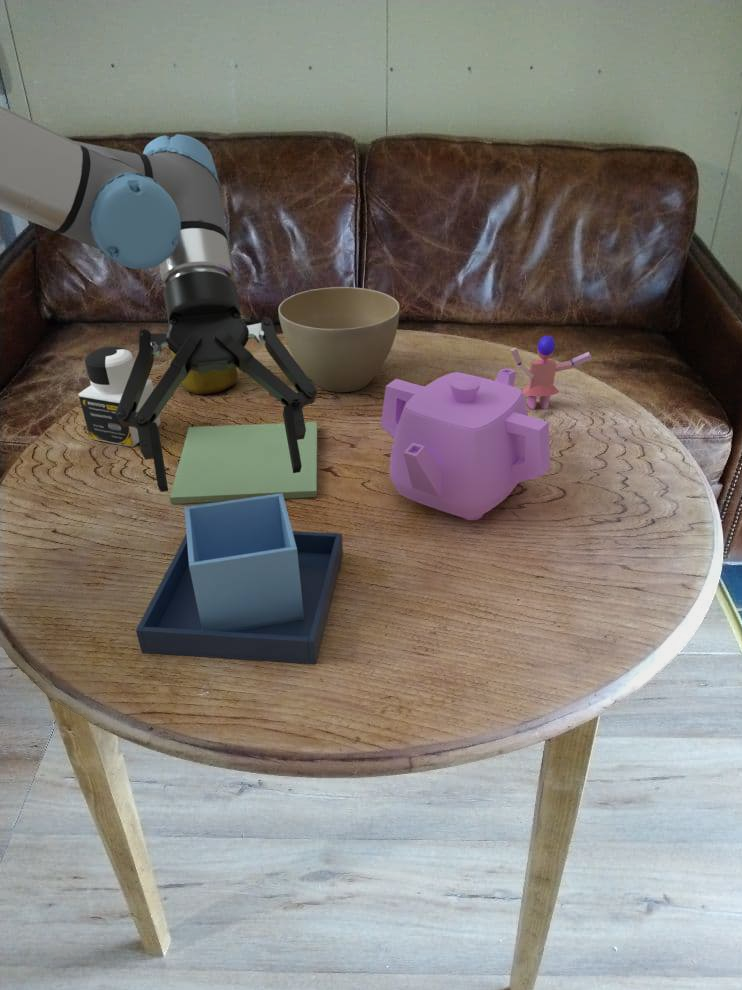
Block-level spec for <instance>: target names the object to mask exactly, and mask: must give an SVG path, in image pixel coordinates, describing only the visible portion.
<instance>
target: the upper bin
mask: <svg viewBox="0 0 742 990" xmlns="http://www.w3.org/2000/svg"><path fill="white" fill-rule="evenodd" d="M184 518H185V531H186V532H185V533H186V534H187V546H188V559H189V568H190V573H191V578H192V583H193V587H194V592H195V597H196V602H197V607H198V612H199V616H200V621H201V626H202V630H204V631H220V632H235V631H241V630H247V629H252V628H258V627H264V626H269V625H275V624H281V623H286V622H292V621H298V620H304V612H303V602H302V593H301V583H300V573H299V563H298V553H297V547H296V543H295V539H294V535H293V531H294V530H293V528H292V524H291V520H290V517H289V513H288V508H287V505H286V500H285V499H284V497H283V493H279V494H272V495H265V496H258V497H251V498H244V499H237V500H230V501H222V502H207V503H200V504H195V505H194V504H193V505H188V506H184Z"/></svg>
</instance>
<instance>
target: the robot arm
mask: <svg viewBox="0 0 742 990" xmlns="http://www.w3.org/2000/svg"><path fill="white" fill-rule="evenodd" d="M221 188H222V187H221V184H220V181H219V178H218V173H217V169H216V165H215V163H214V159H213V156H212V153H211V151H210V149H208V147H207V146H206V145H205V144H204V143H203V142H201V140H199V139H197V138H194V137H193V136H190V135H185V134H179V133H177V134H175V135H174V136H168V135H161V136H158V137H156V138H154V139H152V140H151V141H150V142H148V144H146V146H145V147H144V150H143V152H142V153H136V152H131V151H130V152H129V151H126V150H121V149H116V148H112V147H111V148H110V147H105V146H101V145H97V144H96V145H95V144H91V143H87V142H81V141H76V140H73V139H71V138H68V137H66V136H64V135H62V134H60V133H58V132H56V131H53V130H51V129H50V128H48V127H45V126H43V125H42V124H39V123H37V122H36V121H33V120H31V119H29V118H27V117H25V116H23V115H20V114H19V113H17V112H14V111H12V110H10V109H8V108H6V107H4V106H2V105H0V210H1V211H3V212H5V213H7V214H8V213H9V214H11V215H13V216H16V217H18V218H21V219H24V220H25V221H28V222H30V223H33V224H36V225H37V226H38V225H39V226H41V227H44V228H46V229H49V230H52V232H55V233H58V234H60V235H62V236H64V237H66V238H69V239H71V240H74V241H76V242H79V243H82V244H84V245H87V246H88V247H92V248H94V249H96V250H98V251H100V252H101V254H102V255H104V256H105V257H106V258H107V259H108V260H110V261H112V262H114V263H117V264H119V265H121V266H123V267H126V268H129V269H132V270H133V269H134V270H146V269H152V268H155V267H158V266H159V272H160V279H161V283H162V286H163V287H164V288H163V298H164V303H165V304H164V305H165V309H166V317H167V322H168V328H167V332H166V333H151V332H150V330H148V329H145V328H143V329H141V330H139V332H138V351H137V354H136V357H135V359H134V361H133V362H134V365H133V368H132V370H131V373H130V376H129V378H128V381H127V384H126V387H125V389H124V392H123V395H122V397H121V400H120V403H119V405H118V408H117V411H116V417H117V418H118V420H119V422H120V424H121V425H122V426H124V427H127V426H130V427H134V428H136V429H137V430H138V436H139V443H138V444H139V449H140V453H141V456H143V458H144V460H146V461H147V460H153V465H154V470H155V477H156V483H157V487H158V489H159V491H160V493H164V492H169V486H168V480H167V473H166V467H165V460H164V452H163V448H162V447H163V446H162V440H161V434H160V429H159V426H157V424H156V422H154V421H155V420H156V418H157V417H158V415H159V416H160V414H161V413H162V411H163V410H164V409H165V407H166V406H167V404H168V402H169V401H170V400H171V398H172V397H173V395H174V394H175V392H176V391H177V389H178V388H179V387H180V385H181V384H182V381H183V380H184V379H185V378H186V377H187V375H188V374H189V372H190V371H191V369H192V370H194V371H197V372H199V373H207V372H209V371H212V370H217V371H226V370H228V368H230V367H232V366H233V365H235V366H236V368H237V370H240V371H241V372H242V373H244V374H246V375H247V376H249V378H251V379H252V380H253V381H254V382H256V383H257V384H258V385H259V386H260V387H261V388H263V389H264V390H265V391H266V392H267V393H269V394H270V395H271V396H272V397H273V398H275V399H276V400H277V401H278V402H279V403H281V404H282V405H283V410H282V417H283V423H284V424H285V429H286V435H287V441H288V447H289V452H290V458H291V464H292V469H293V473H299V472H300V471H301V467H302V465H301V459H300V453H299V448H298V442H297V440H299V439H304V437H305V433H306V427H305V417H304V411H303V408H304V407H306V406H309V405H312V404H314V403H315V402H316V398H317V393H318V390H317V388H316V387H315V385H314V384H313V382H312V380H311V379H310V378H309V377H308V376H307V374H306V373H305V372H304V371H303V370H302V369H301V367H300V366H299V365H298V363H297V362H296V360H295V358H294V357H293V355H292V353H291V352H290V351H289V350H288V349H287V348H286V345H284V344H283V342H282V341H281V340H280V338H279V337H278V334H277V332H276V328H275V325H274V321H273V320H272V319H271V318H270V317H268V316H267V317H263V318H262V319H261V321H260V322H258V323H253V324H249V325H247V324H246V323H245V322H244V319H243V318H242V314H241V313H242V311H241V307H240V301H239V295H238V290H237V285H236V283H235V281H234V280H235V273H234V266H233V260H232V253H231V249H230V244H229V240H228V239H229V238H228V236H227V228H226V223H225V222H226V221H225V216H224V208H223V203H222V195H221V194H222V191H221ZM251 338H252V339H254V340H255V341H256V343H257V344H259V345H261V346H264V347H265V349H266V351H267V353H268V354H269V355H270V357H271V358H272V360H273V361H274V362H275V364H276V366H277V367H278V368H279V369H280V370H281V372H282V373H283V375H284V376H285V377H286V378H287V380H288V381H289V382H290V384H291V386H292V387H293V388H294V389H295V390H293V389H292V387H290V386H289V385H288V384H287V383H285V381H283V380H281V379H280V378H279V377H278V376H277V375H276V374H275V373H273V372H272V371H271V370H270V369H269V368H268V367H266V366H265V365H264V364H263V363H261V361H259V360H258V359H256V358H255V356H254V355H253V354H252V353H251V352H250V351H249V349H247V348H246V345H247V343H248V341H249V339H251ZM165 347H167V348H168V349H169V351H170V350H171V351H172V352H174V353H175V354H176V355H175V357H174V358H172V360H171V362H170V365H169V367H168V368H167V370H166V371H165V372H164V374H163V375H162V376H161V378H160V380H159V381H158V382H157V384H156V385H155V387H153V389H154V390H153V391H152V393H151V394H150V396H149V397H148V398H147V400H146V401H145V403H144V404H143V406H142V407H141V409H140V410H139V412H138V413H137V412H136V410H137V407H138V404H139V401H140V399H141V396H142V393H143V391H144V388H145V385H146V382H147V380H148V379H149V377H150V374H151V371H152V369H153V365H154V361H155V357H158V356H160V354H161V352H162V350H163V349H164V348H165ZM171 351H170V352H171Z"/></svg>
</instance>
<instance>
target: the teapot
mask: <svg viewBox="0 0 742 990" xmlns="http://www.w3.org/2000/svg"><path fill="white" fill-rule="evenodd" d="M516 374H517V370H514V369H510V368H506V367H505V368H503V369H501V370H499V371H498V374H497V376H496V377H495V379H494V380H492V379H490V378H489V379H488V378H485V377H481V376H478V375H473V374H469V373H464V372H459V371H455V372H450V373H447V374H444V375H442V376H440V377H438V378H436V379H434V380H433V381H431V382H429V383H428V384H426V385H425V386H424V385H421V384H417V383H414V382H409V381H405V380H403V379H398V378H395V379H393V380H392V381H391V382H390V383H388V384H387V385H385V389H384V390H385V391H384V397H383V403H382V411H381V412H382V413H381V418H380V419H381V420H380V421H381V422H380V427H381V428H382V429H383V430H384V431H386V433H388V434H389V435H390V437H392V438H393V441H392V446H391V452H390V460H389V475H390V480H391V482H392V485H393V486H394V489H395V490H396V492H397V493H398V494H399V495H401V496H402V497H405V498H407V499H408V500H412V502H413V501H414V502H415V503H418V504H421V505H424V506H426V507H429V508H431V509H435V510H437V511H440V512H443V513H447V514H450V515H452V516H457V517H459V518H460V517H461V518H462V519H464V520H467V521H477V520H479V519H481V518H483V516H484V515H485V514H486V513H488V512H489V511H491V510H492V509H494V508H495V507H497V506H498V505H500V503H502V502H503V501H505V500H506V499H507V498H508V497H509V495H510V494H511V493H513V491H514V489H515V488H516V487H517V485H518V484H519V483H521V482H525V481H529V480H534V479H537V478H541V477H542V476H544V475H545V473H547V472H548V471H549V470H550V469H551V450H550V449H551V447H550V446H551V445H550V422H549V421H547V420H543V419H539V418H536V417H532V416H530V415H529V412H528V406H527V402H526V399H525V395H523V392H522V389H521V388H519V387H515V381H516Z"/></svg>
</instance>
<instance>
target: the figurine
mask: <svg viewBox="0 0 742 990" xmlns="http://www.w3.org/2000/svg"><path fill="white" fill-rule="evenodd" d="M555 349H556V341H555V339H554V338H553V336H551V335H544V336H542V337H541V338H540V339H539V341H538V343H537V348H536V352H537V355H538V357H539V358H540V359H531V360H530V367H529V368H528V367H526V365H525V364H524V363H523V361H522V358H521V356H520V353H519V351H518V348H517V347H513V348H511V349H510V350H509V351H510V353H511V357H512V358H513V361H514V363H515V364H516V365H517V366H518V368H519V369H520V370H521V371H522V372H523V373H524V374H525V375H526V376H527V378H528V380H527V381H528V382H527V385H526V386H525V387H524V388H523V389H521V391H522V392H523V395H524V396H526V397H527V399H526V400H527V401H526V406H527V407H528V408H530V409H531V410H536V405H537V398H538V397H539V403H538V404H539V406H540V408H542V409H545V410H548V409H549V408H550V402H551V401H550V399H551V396H554V395H557V394H558V393H560V390H559V389H558V388H557V386H555V385H554V382H555V377H556V376H555V375H556V373H558V372H562V371H567V370H570V369H573V367H575V368H576V367H578V366H580V365H582V364H584V363H587V362H589V361H592V355H591V354H590V351H587V352H585V353H582V354H580V355H578V356H575V357H573V358H571V360H566V361H561V362H557V361H556V360H555V359H551V358H552V356H553V355H554V353H555Z"/></svg>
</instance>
